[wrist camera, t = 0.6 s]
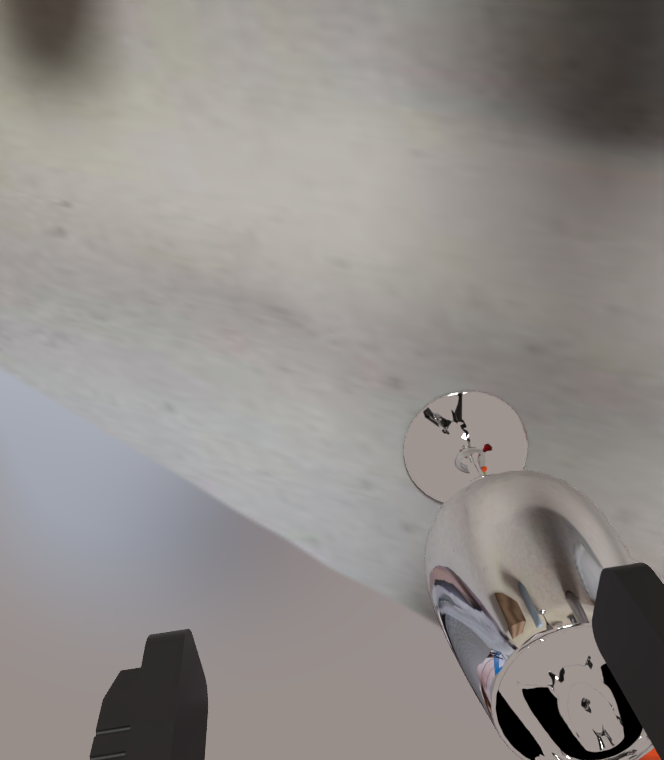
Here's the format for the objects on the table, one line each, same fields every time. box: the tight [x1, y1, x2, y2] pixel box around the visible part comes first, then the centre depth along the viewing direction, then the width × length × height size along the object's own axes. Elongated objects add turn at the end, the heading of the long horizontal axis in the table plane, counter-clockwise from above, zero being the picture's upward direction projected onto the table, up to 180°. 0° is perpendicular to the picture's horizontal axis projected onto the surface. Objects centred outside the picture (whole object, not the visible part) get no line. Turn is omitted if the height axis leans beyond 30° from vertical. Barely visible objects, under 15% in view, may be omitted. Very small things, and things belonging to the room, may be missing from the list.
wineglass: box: [404, 390, 654, 760], centre depth 27 cm, size 8×8×20 cm
